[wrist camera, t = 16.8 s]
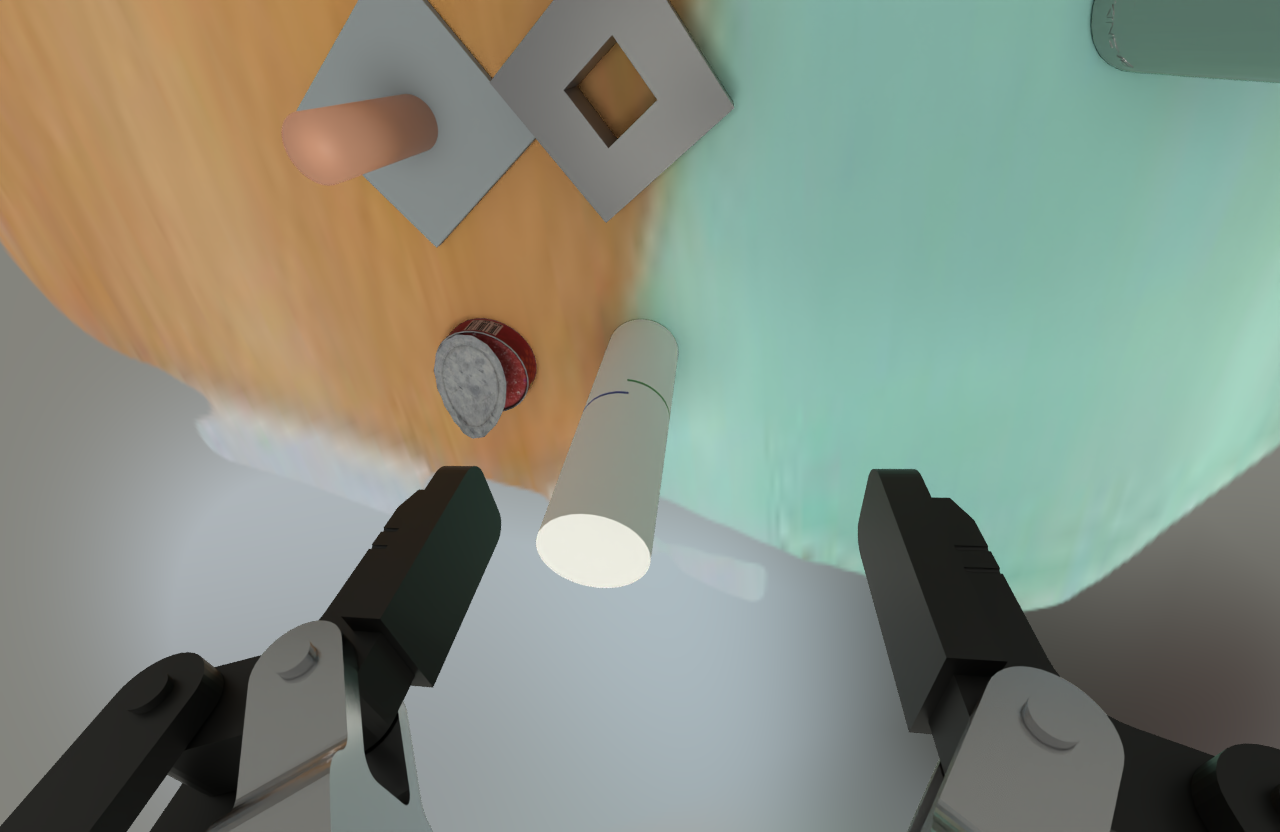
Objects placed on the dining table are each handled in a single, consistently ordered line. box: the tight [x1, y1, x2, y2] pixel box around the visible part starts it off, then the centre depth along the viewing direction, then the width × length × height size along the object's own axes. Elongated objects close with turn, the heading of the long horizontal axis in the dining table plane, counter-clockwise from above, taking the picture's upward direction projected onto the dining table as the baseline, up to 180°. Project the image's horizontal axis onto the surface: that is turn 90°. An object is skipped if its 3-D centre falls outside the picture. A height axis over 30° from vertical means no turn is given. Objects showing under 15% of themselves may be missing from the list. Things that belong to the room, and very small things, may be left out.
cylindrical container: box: [536, 319, 678, 588], centre depth 40 cm, size 7×7×25 cm
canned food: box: [434, 318, 536, 438], centre depth 51 cm, size 11×10×10 cm
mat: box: [297, 0, 536, 247], centre depth 39 cm, size 14×14×1 cm
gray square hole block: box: [489, 0, 734, 222], centre depth 35 cm, size 12×12×4 cm
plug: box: [282, 94, 438, 185], centre depth 34 cm, size 4×4×12 cm
